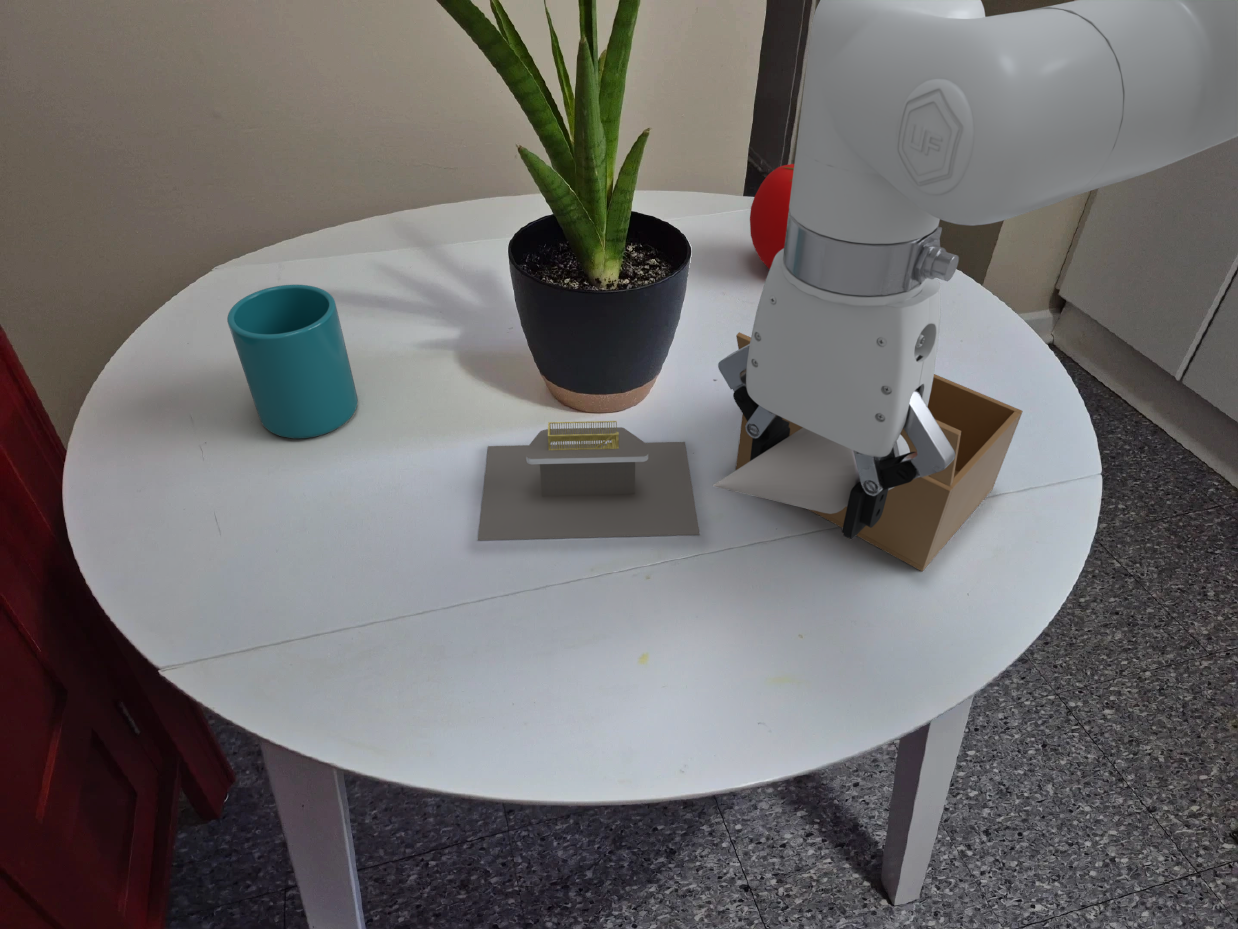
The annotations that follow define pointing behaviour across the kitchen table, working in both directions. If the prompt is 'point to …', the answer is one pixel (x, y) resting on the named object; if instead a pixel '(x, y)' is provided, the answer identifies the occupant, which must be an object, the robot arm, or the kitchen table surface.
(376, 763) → the kitchen table surface
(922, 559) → the carton
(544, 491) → the platform
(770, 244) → the tomato
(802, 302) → the robot arm
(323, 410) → the cup
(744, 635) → the kitchen table surface
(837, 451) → the ice cream cone
